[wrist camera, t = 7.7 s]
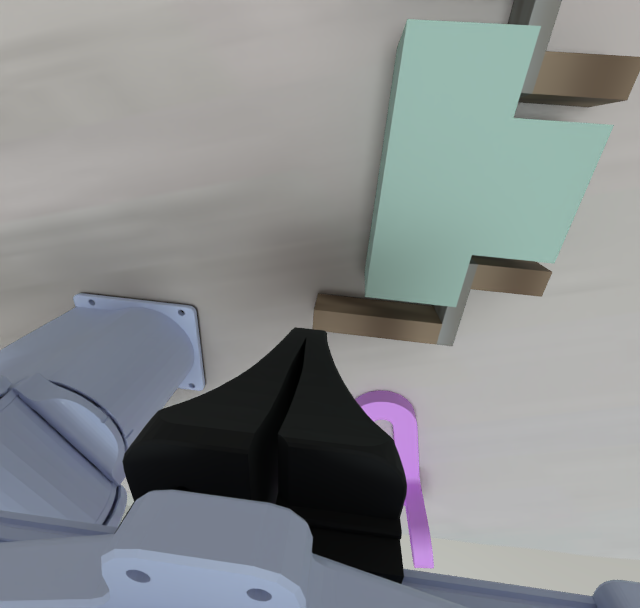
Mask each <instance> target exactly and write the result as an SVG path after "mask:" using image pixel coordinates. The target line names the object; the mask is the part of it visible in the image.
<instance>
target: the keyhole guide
mask: <svg viewBox="0 0 640 608" xmlns="http://www.w3.org/2000/svg"><path fill="white" fill-rule="evenodd" d="M561 1H562V0H514V3H513V7H512V11H511V15H510V19H509V22H508V24H512V25H532V26H541V28H540V31H539V35H538V38H537V41H536V45H535V48H534V51H533V55H532V58H531V61H530V65H529V68H528V71H527V74H526V78H525V81H524V84H523V88H522V91H521V94H520V98H519V101H518V102H523V103H537V104H551V105H565V106H580V107H592V106H598V105H603V104H609V103H614V102H620V101H625V100H627V99H628V97H629V94H630V92H631V90H632V87H633V85H634V83H635V81H636V78H637V76H638V74H639V71H640V57H632V56H616V55H599V54H583V53H566V52H550V51H546V49H547V46H548V42H549V39H550V36H551V33H552V30H553V27H554V24H555V20H556V17H557V14H558V11H559V8H560V5H561ZM551 274H552V271H550V270H548V269H547V268H545V267H543V266H542V265H540V264H539V263H537V262H535V261H526V260H516V259H506V258H497V257H487V256H477V255H472V256H471V259H470V263H469V266H468V269H467V273H466V276H465V279H464V283H463V286H462V289H461V293H460V296H459V299H458V302H457V306H456V307H449V306H440V305H433V306H428V305H418V304H409V303H400V302H391V301H382V300H373V299H363V298H354V297H345V296H336V295H327V294H318V296H317V300H316V304H315V308H314V316H313V329H315V330H325V332H334V333H342V334H351V335H360V336H368V337H377V338H386V339H394V340H403V341H411V342H420V343H429V344H437V345H446V346H453V343H454V339H455V336H456V333H457V330H458V327H459V324H460V320H461V317H462V314H463V311H464V308H465V305H466V301H467V298H468V295H469V292H470V289H475V290H484V291H494V292H503V293H513V294H522V295H532V296H541V297H542V295H543V292H544V290H545V288H546V285H547V283H548V281H549V279H550V276H551Z"/></svg>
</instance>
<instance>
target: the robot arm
mask: <svg viewBox="0 0 640 608" xmlns="http://www.w3.org/2000/svg"><path fill="white" fill-rule="evenodd" d="M73 300H74V303H75V306H76V307H75V308H73V309H72V310H70V311H68V312H66V313H65V314H63V315H61V316H59V317H57V318H56V319H54V320H52V321H50V322H49V323H47V324H45V325H43V326H41V327H40V328H38V329H36V330H34V331H33V332H31V333H29V334H27V335H25V336H24V337H22V338H20V339H18V340H17V341H15V342H13V343H11V344H9V345H8V346H6V347H5V348H3V349H2V350H0V608H640V583H639V582H632V581H625V580H610V581H606V582H604V583H602V584H601V585H599V587H598V588H597V589H596V591H595V592H594V594H593V596H587V595H580V594H573V593H566V592H560V591H553V590H546V589H539V588H532V587H525V586H519V585H511V584H504V583H498V582H491V581H484V580H477V579H470V578H463V577H457V576H450V575H442V574H436V573H429V572H422V571H415V570H408V569H403V564H402V554H401V546H400V539H401V534H402V531H401V523H400V515H401V512H402V508H403V505H404V501H405V498H406V494H407V481H406V476H405V472H404V468H403V465H402V462H401V459H400V456H399V453H398V450H397V448H396V445H395V443H394V441H393V439H392V438H391V437H390V436H389V435H388V434H387V433H386V432H384V431H383V430H382V429H381V428H380V427H379V426H378V425H377V424H375V423H374V422H373V420H372V419H371V418H370V417H369V416H368V415H367V414H366V413H365V412H364V410H363V409H362V408H361V407H360V405H359V404H358V403H357V402H356V400H355V399H354V398H353V396H352V395H351V393H350V392H349V390H348V389H347V387H346V385H345V384H344V382H343V380H342V378H341V376H340V375H339V372H338V370H337V368H336V366H335V364H334V361H333V358H332V356H331V353H330V350H329V346H328V342H327V333H326V332H325V330H315V329H304V328H294V329H292V330H291V332H290V333H289V334H288V335H287V336H286V337H285V338H284V339H283V340H282V341H281V342H280V343H279V344H278V345H277V346H276V347H275V348H274V349H273V350H272V351H271V352H270V353H268V354H267V355H266V356H265V357H264V358H262V359H261V360H260V361H259V362H258V363H256V364H255V365H254V366H252V367H251V368H250V369H248V370H247V371H245V372H244V373H242V374H241V375H239V376H238V377H236V378H234V379H232V380H231V381H229V382H227V383H225V384H223V385H221V386H220V387H218V388H216V389H214V390H211V391H209V392H207V393H205V394H202V395H200V396H198V397H195V398H193V399H190V400H188V401H185V402H182V403H179V404H176V405H173V406H170V407H167V408H164V409H162V408H163V407H164V405H165V404H166V403H167V401H168V400H169V399H170V397H171V396H172V395H173V393H174V392H175V391H176V389H177V388H182V389H190V390H198V391H201V390H203V388H204V387H205V379H204V370H203V362H202V354H201V345H200V337H199V329H198V320H197V312H196V309H195V308H194V307H192V306H189V305H181V304H172V303H163V302H154V301H146V300H137V299H128V298H119V297H111V296H102V295H93V294H84V293H79V294H77V295H75V296H74V297H73ZM93 301H94V302H93ZM181 310H183V311H184V312H185V313H182V312H181ZM193 384H194V385H193ZM125 477H126V479H127V482H128V484H129V487H130V490H131V493H132V496H133V499H134V503H133V504H132V506H131V508H130V509H129V511H128V512H127V514H126V516H125V517H124V519H123V520H122V522H121V519H122V516H123V514H124V511H125V507H126V503H127V492H126V490H125V488H124V487H123V486H122V485H121V482H122V481H123V480H124V478H125ZM120 522H121V524H120Z"/></svg>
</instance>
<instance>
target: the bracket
mask: <svg viewBox="0 0 640 608" xmlns="http://www.w3.org/2000/svg"><path fill="white" fill-rule="evenodd" d="M355 400H356V402H357V403H358V404H359V405H360V407H361V408H362V409H363V410H364V412H365V413H366V414H367V415H368V416H369V417H370V418H371V419H372V420H373V422H374V421H376V420H380V419H383V420H387V421H389V422H391V423H392V424H393V433H394V443H395V445H396V448H397V450H398V453H399V456H400V459H401V462H402V465H403V468H404V472H405V476H406V481H407V494H406V498H405V501H404V505H405V506H406V514H407V521H408V528H409V535H410V542H411V549H412V557H413V562H414V567H415V568H434V562H433V552H432V545H431V538H430V532H429V526H428V521H427V516H426V511H425V505H424V500H423V495H422V490H421V485H420V477H419V455H418V431H417V422H416V417H415V413H414V409H413V407H412V405H411V404H410V402H409V401H408V400H407V399H405V398H404V397H403V396H401V395H399V394H397V393H394V392H390V391H372V392H368V393H365V394H363V395H361V396H359V397H358V398H356V399H355Z"/></svg>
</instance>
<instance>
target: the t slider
mask: <svg viewBox="0 0 640 608" xmlns="http://www.w3.org/2000/svg"><path fill="white" fill-rule="evenodd" d="M540 28H541V26H532V25H512V24H492V23H472V22H452V21H432V20H413V19H407V22H406V25H405V27H404V30H403V33H402V36H401V39H400V41H399V44H398V47H397V52H396V59H395V66H394V73H393V80H392V86H391V93H390V100H389V107H388V114H387V121H386V128H385V135H384V141H383V148H382V155H381V162H380V169H379V176H378V183H377V190H376V196H375V203H374V210H373V217H372V224H371V231H370V238H369V245H368V251H367V258H366V265H365V272H364V276H365V297H371V298H379V299H388V300H397V301H405V302H414V303H423V304H431V305H440V306H449V307H456V306H457V302H458V299H459V296H460V293H461V289H462V286H463V283H464V279H465V276H466V273H467V269H468V266H469V263H470V259H471V256H472V255H477V256H487V257H497V258H506V259H516V260H526V261H536V262H545V263H555V260H556V258H557V256H558V254H559V251H560V249H561V247H562V244H563V242H564V240H565V237H566V235H567V233H568V230H569V228H570V226H571V223H572V221H573V219H574V216H575V214H576V212H577V209H578V207H579V205H580V203H581V200H582V198H583V196H584V193H585V191H586V189H587V186H588V184H589V182H590V179H591V177H592V175H593V172H594V170H595V168H596V165H597V163H598V161H599V158H600V156H601V154H602V152H603V149H604V147H605V145H606V142H607V140H608V138H609V135H610V133H611V131H612V128H613V126H614V125H605V124H591V123H577V122H563V121H549V120H535V119H521V118H513V117H514V114H515V111H516V107H517V104H518V101H519V98H520V94H521V91H522V88H523V84H524V81H525V78H526V74H527V71H528V68H529V65H530V61H531V58H532V55H533V51H534V48H535V45H536V41H537V38H538V35H539V31H540Z"/></svg>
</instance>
